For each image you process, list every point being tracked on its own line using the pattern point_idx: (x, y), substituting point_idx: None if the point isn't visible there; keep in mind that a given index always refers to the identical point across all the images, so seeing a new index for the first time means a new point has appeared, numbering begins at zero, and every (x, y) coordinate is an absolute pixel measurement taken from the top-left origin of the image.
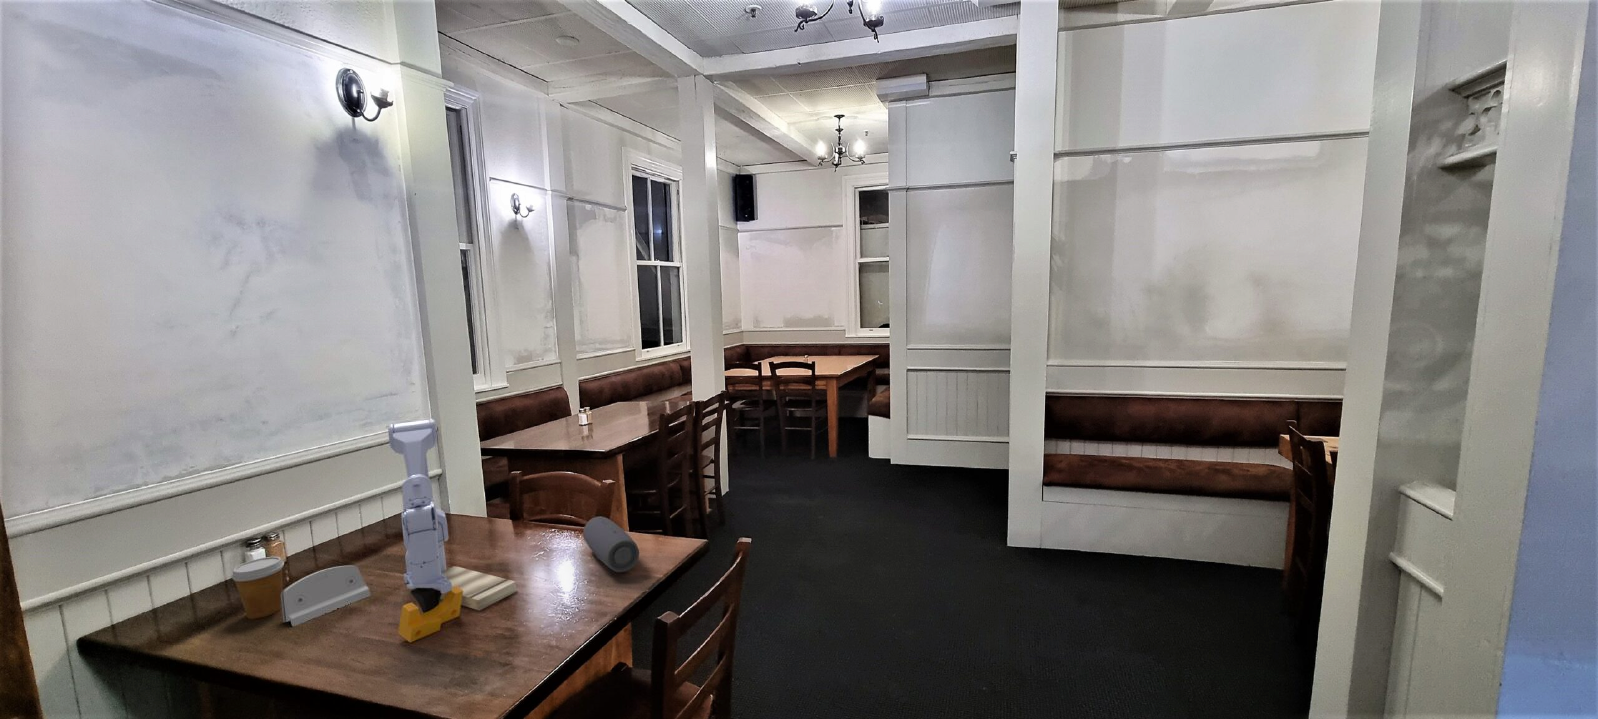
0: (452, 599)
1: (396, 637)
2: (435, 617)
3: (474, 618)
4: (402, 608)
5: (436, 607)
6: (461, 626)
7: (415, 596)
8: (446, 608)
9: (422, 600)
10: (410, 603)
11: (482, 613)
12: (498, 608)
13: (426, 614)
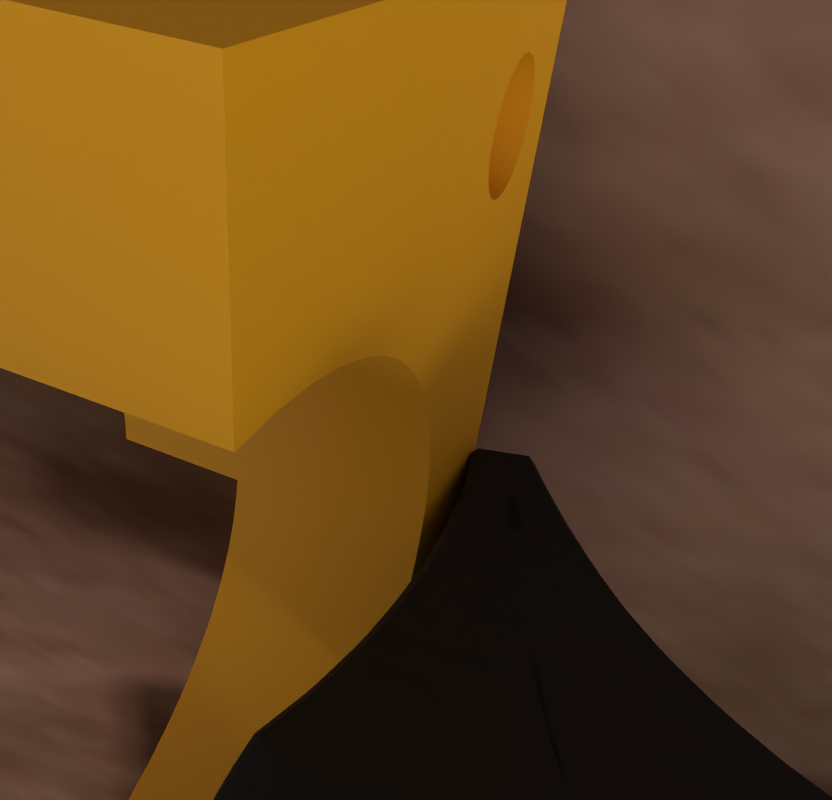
0: (154, 791)
1: (707, 16)
2: (221, 448)
3: (84, 606)
4: (253, 10)
5: None
6: (41, 465)
7: (676, 757)
8: (212, 635)
9: (404, 669)
10: (193, 371)
11: (108, 682)
12: (55, 758)
13: (360, 450)
